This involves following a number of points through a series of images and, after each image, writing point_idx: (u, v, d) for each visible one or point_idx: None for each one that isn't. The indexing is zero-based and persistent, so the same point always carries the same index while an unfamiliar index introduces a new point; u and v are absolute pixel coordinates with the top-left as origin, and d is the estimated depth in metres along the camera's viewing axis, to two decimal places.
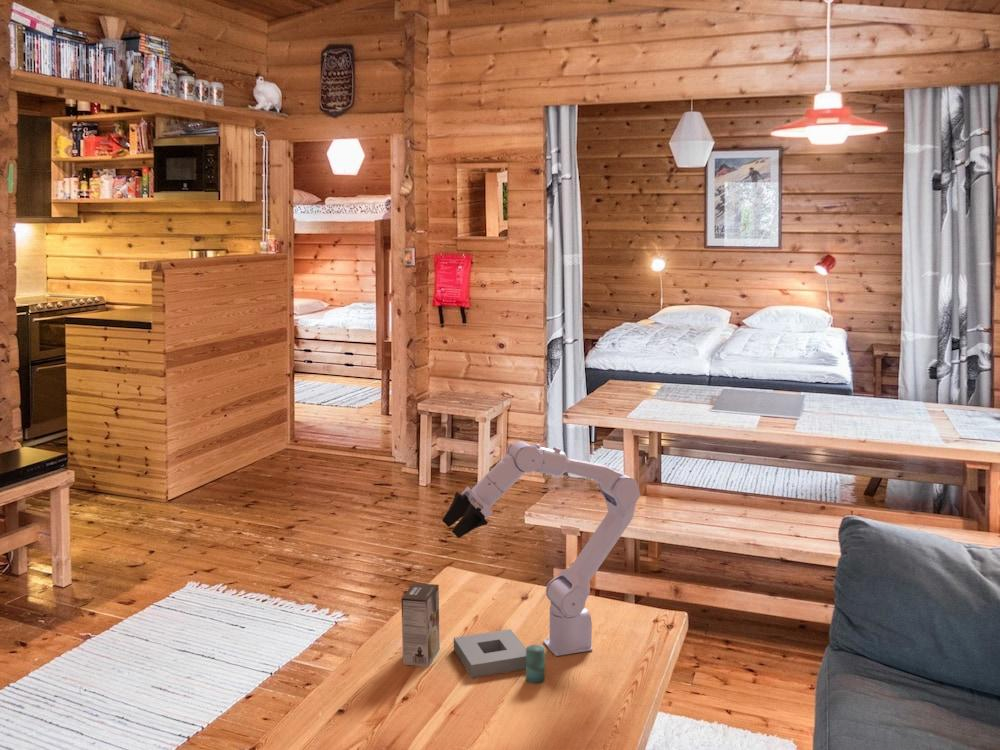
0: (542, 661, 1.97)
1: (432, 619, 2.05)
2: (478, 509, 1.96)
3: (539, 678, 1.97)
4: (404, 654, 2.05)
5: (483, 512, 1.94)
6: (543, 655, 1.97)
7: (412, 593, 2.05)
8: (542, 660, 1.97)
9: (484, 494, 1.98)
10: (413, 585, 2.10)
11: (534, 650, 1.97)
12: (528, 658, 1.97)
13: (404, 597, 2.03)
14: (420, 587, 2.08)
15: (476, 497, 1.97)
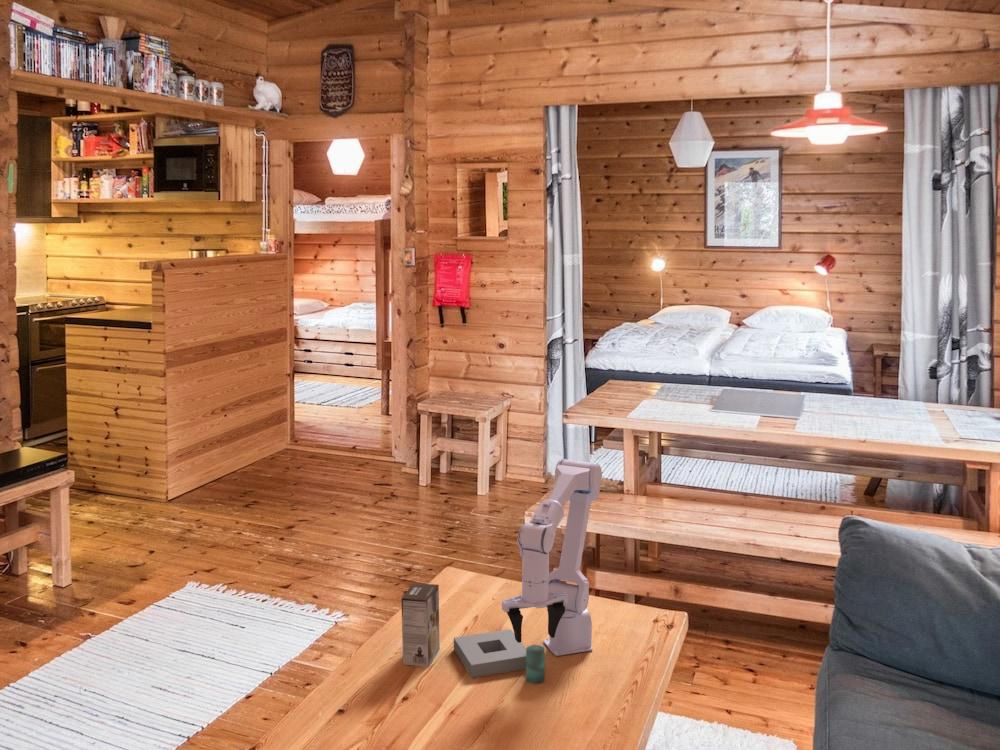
0: (542, 661, 1.97)
1: (432, 619, 2.05)
2: (557, 604, 1.97)
3: (539, 678, 1.97)
4: (404, 654, 2.05)
5: None
6: (543, 655, 1.97)
7: (412, 593, 2.05)
8: (542, 660, 1.97)
9: (548, 592, 1.95)
10: (413, 585, 2.10)
11: (534, 650, 1.97)
12: (528, 658, 1.97)
13: (404, 597, 2.03)
14: (420, 587, 2.08)
15: (551, 601, 1.95)
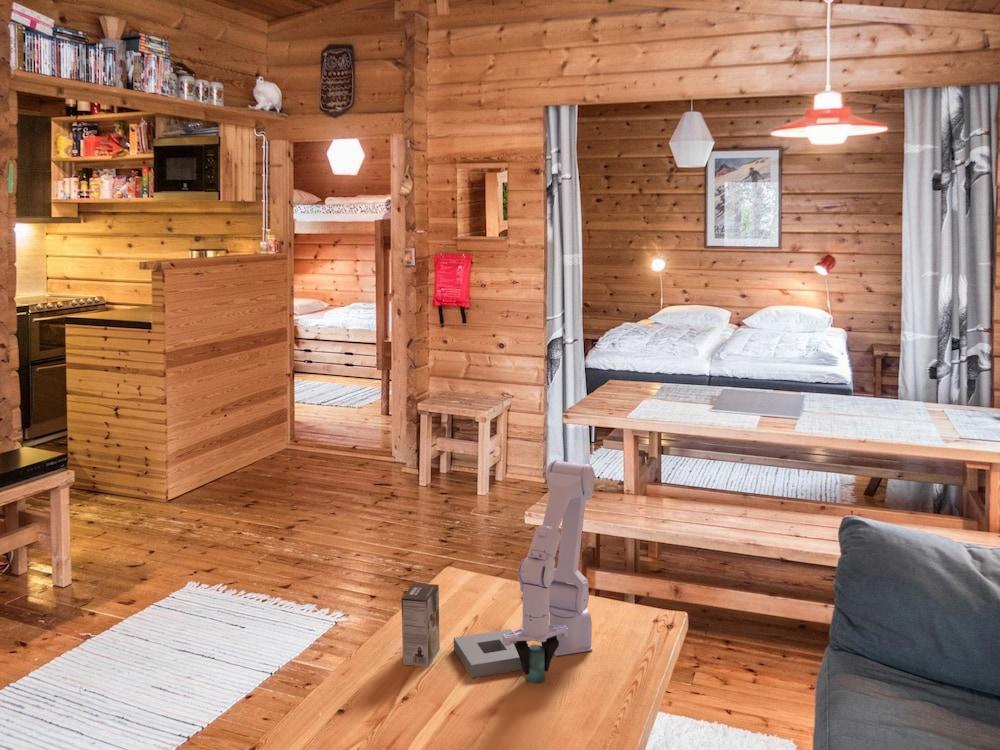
0: (542, 661, 1.97)
1: (432, 619, 2.05)
2: (551, 638, 1.98)
3: (539, 678, 1.97)
4: (404, 654, 2.05)
5: None
6: (543, 655, 1.97)
7: (412, 593, 2.05)
8: (542, 660, 1.97)
9: (548, 626, 1.97)
10: (413, 585, 2.10)
11: (534, 650, 1.97)
12: None
13: (404, 597, 2.03)
14: (420, 587, 2.08)
15: (551, 635, 1.96)
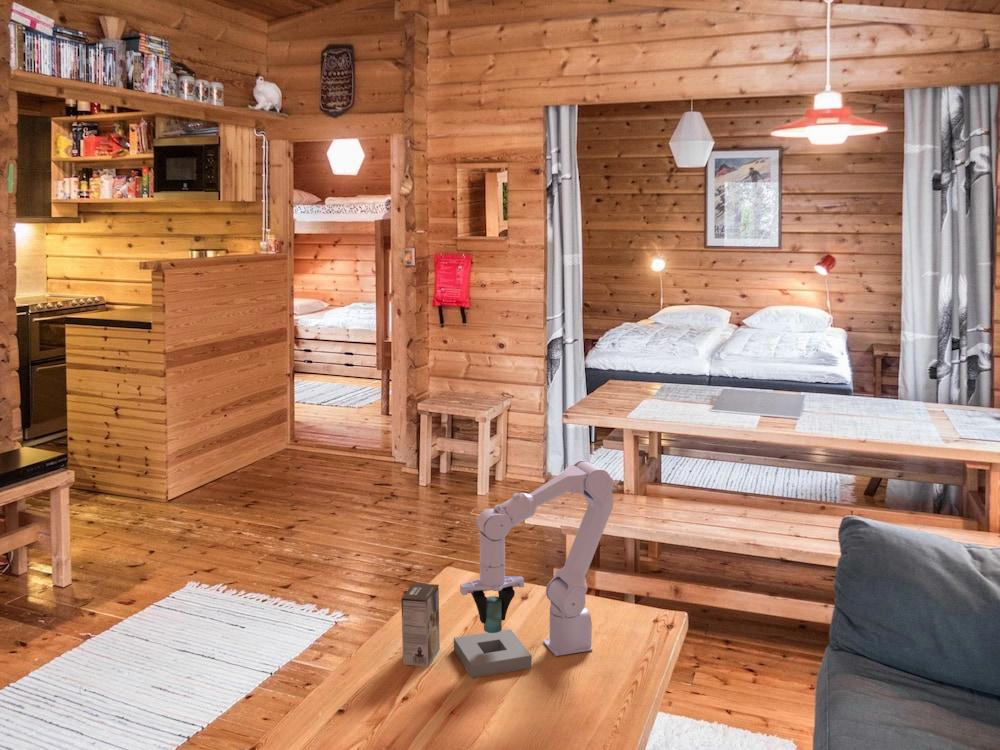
0: (499, 611, 2.05)
1: (432, 619, 2.05)
2: (507, 588, 2.06)
3: (496, 627, 2.05)
4: (404, 654, 2.05)
5: None
6: (500, 605, 2.05)
7: (412, 593, 2.05)
8: (499, 610, 2.04)
9: (504, 576, 2.04)
10: (413, 585, 2.10)
11: (492, 601, 2.05)
12: (486, 608, 2.04)
13: (404, 597, 2.03)
14: (420, 587, 2.08)
15: (507, 585, 2.04)
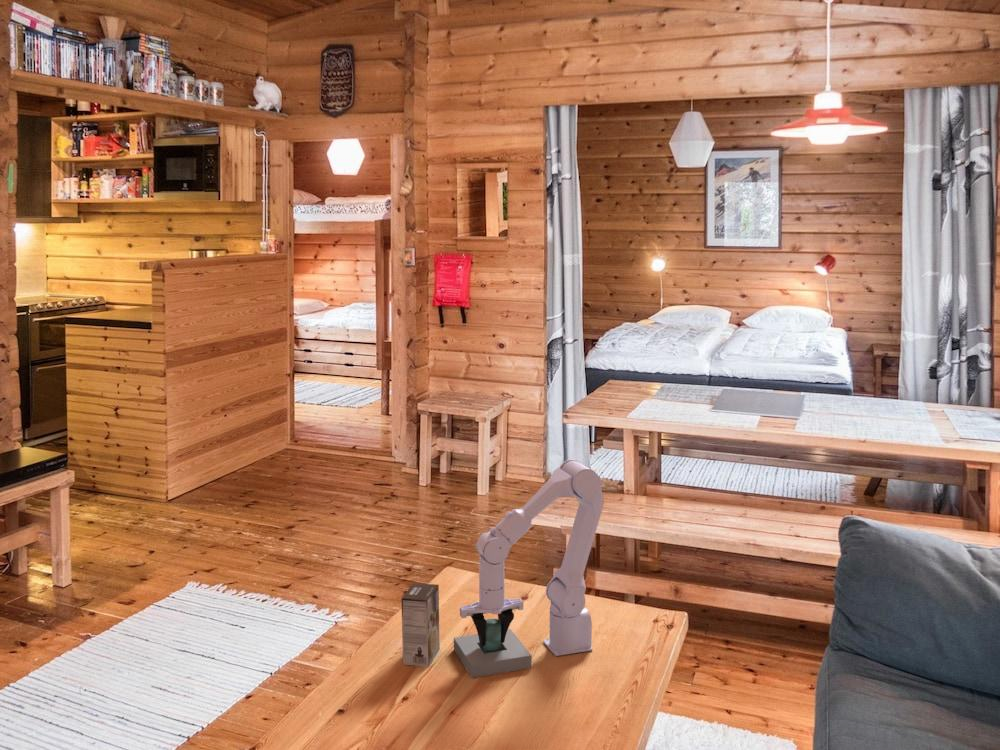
0: (499, 634, 2.06)
1: (432, 619, 2.05)
2: (507, 611, 2.07)
3: (496, 650, 2.06)
4: (404, 654, 2.05)
5: None
6: (500, 628, 2.06)
7: (412, 593, 2.05)
8: (498, 633, 2.06)
9: (504, 599, 2.06)
10: (413, 585, 2.10)
11: (491, 623, 2.06)
12: (485, 631, 2.05)
13: (404, 597, 2.03)
14: (420, 587, 2.08)
15: (506, 607, 2.05)
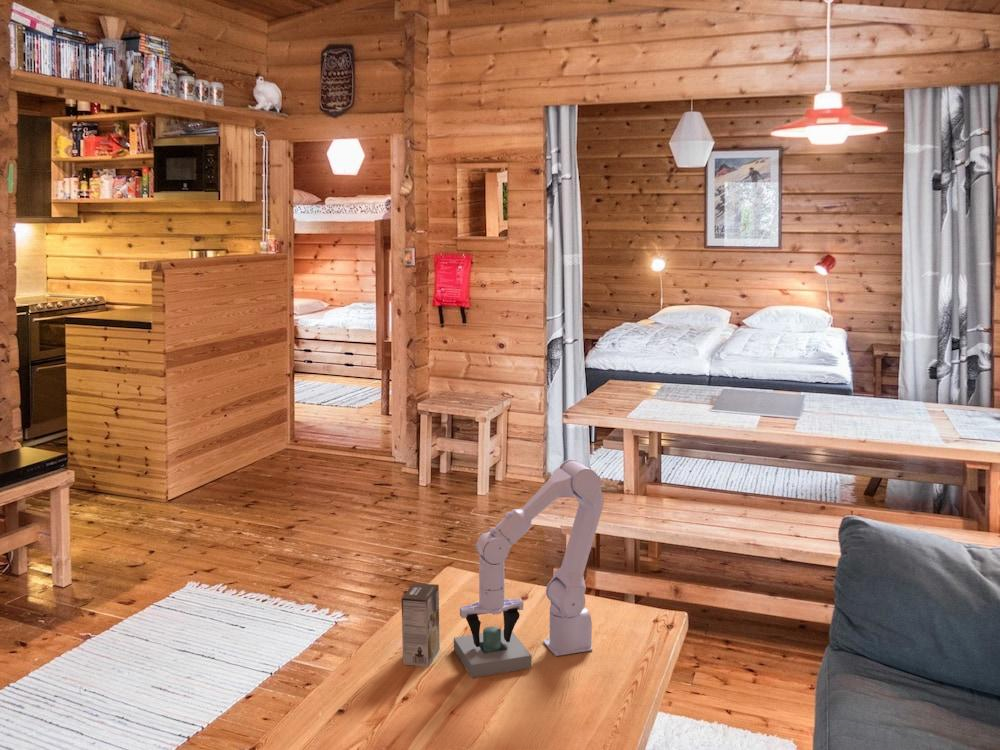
0: (498, 641, 2.06)
1: (432, 619, 2.05)
2: (512, 610, 2.07)
3: None
4: (404, 654, 2.05)
5: None
6: (499, 636, 2.06)
7: (412, 593, 2.05)
8: (498, 641, 2.06)
9: (504, 599, 2.06)
10: (413, 585, 2.10)
11: (491, 631, 2.06)
12: (485, 639, 2.06)
13: (404, 597, 2.03)
14: (420, 587, 2.08)
15: (506, 608, 2.05)
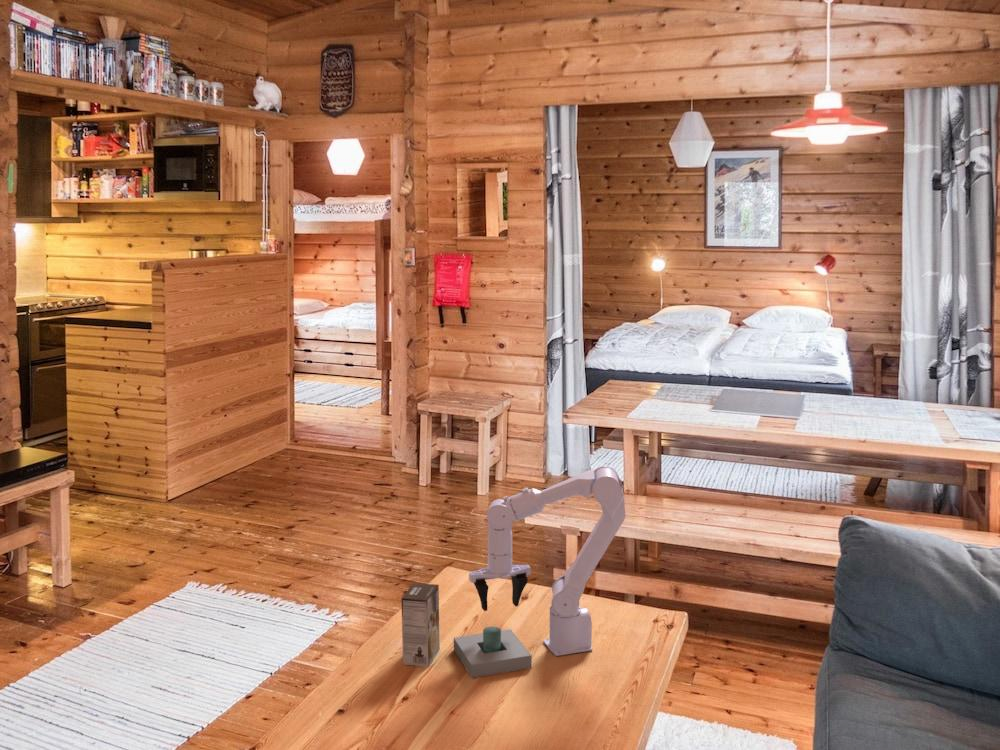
0: (498, 641, 2.06)
1: (432, 619, 2.05)
2: (521, 576, 2.13)
3: None
4: (404, 654, 2.05)
5: None
6: (499, 636, 2.06)
7: (412, 593, 2.05)
8: (498, 641, 2.06)
9: None
10: (413, 585, 2.10)
11: (491, 631, 2.06)
12: (485, 639, 2.06)
13: (404, 597, 2.03)
14: (420, 587, 2.08)
15: (514, 573, 2.11)
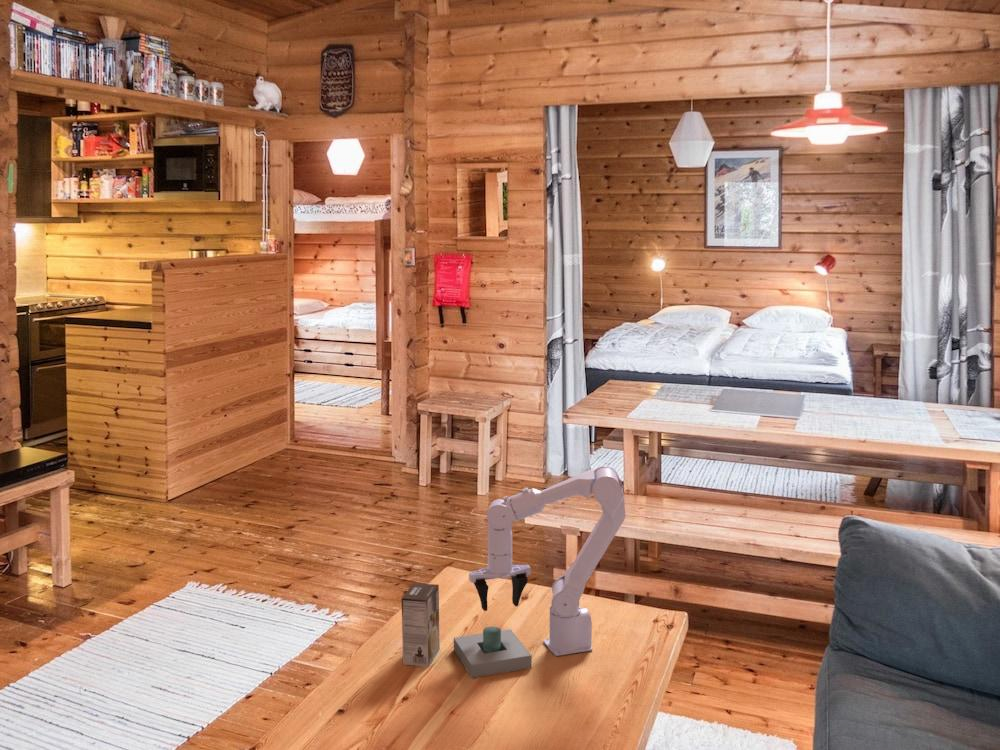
0: (498, 641, 2.06)
1: (432, 619, 2.05)
2: (521, 576, 2.13)
3: None
4: (404, 654, 2.05)
5: None
6: (499, 636, 2.06)
7: (412, 593, 2.05)
8: (498, 641, 2.06)
9: None
10: (413, 585, 2.10)
11: (491, 631, 2.06)
12: (485, 639, 2.06)
13: (404, 597, 2.03)
14: (420, 587, 2.08)
15: (514, 573, 2.11)
